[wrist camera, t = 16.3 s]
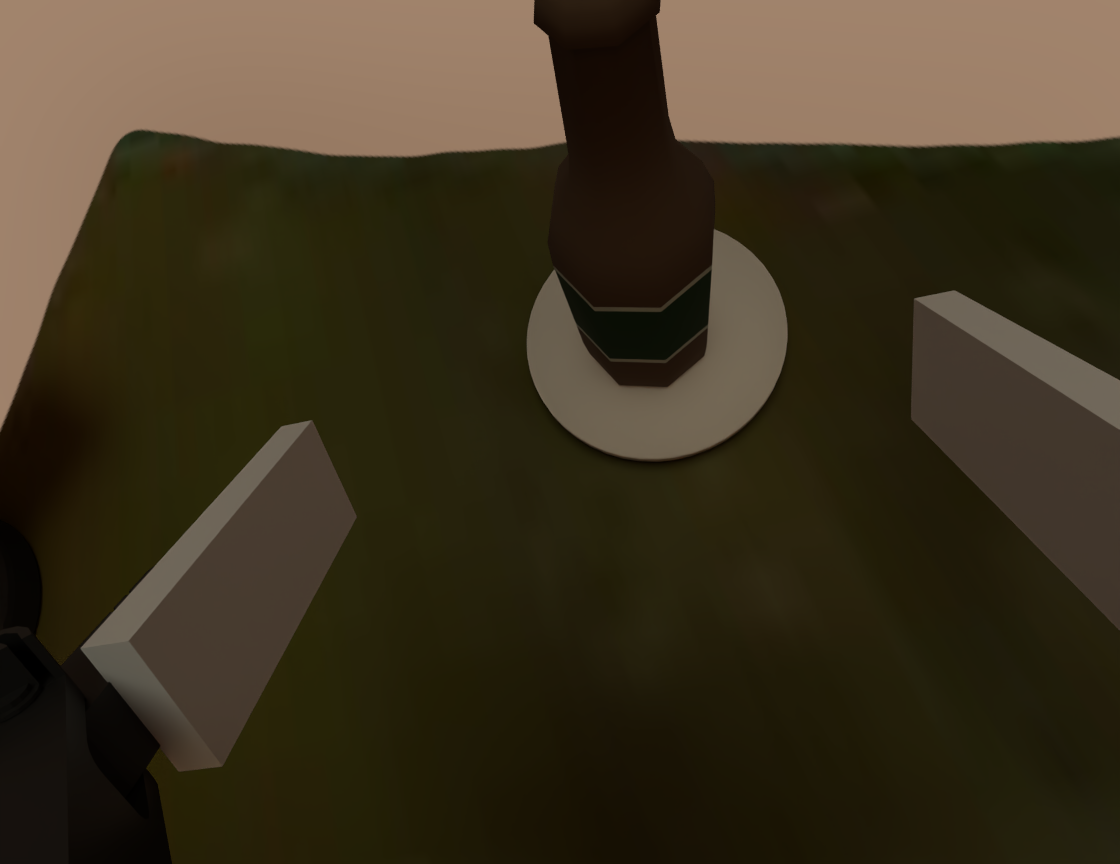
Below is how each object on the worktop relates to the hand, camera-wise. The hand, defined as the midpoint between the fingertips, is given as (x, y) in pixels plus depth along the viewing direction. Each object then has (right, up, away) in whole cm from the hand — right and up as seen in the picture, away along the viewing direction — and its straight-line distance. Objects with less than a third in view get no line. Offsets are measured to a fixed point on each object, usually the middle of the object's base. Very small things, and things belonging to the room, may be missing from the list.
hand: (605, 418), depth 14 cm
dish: (+5, +5, +27) cm, 28 cm away
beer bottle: (+4, +6, +26) cm, 27 cm away
